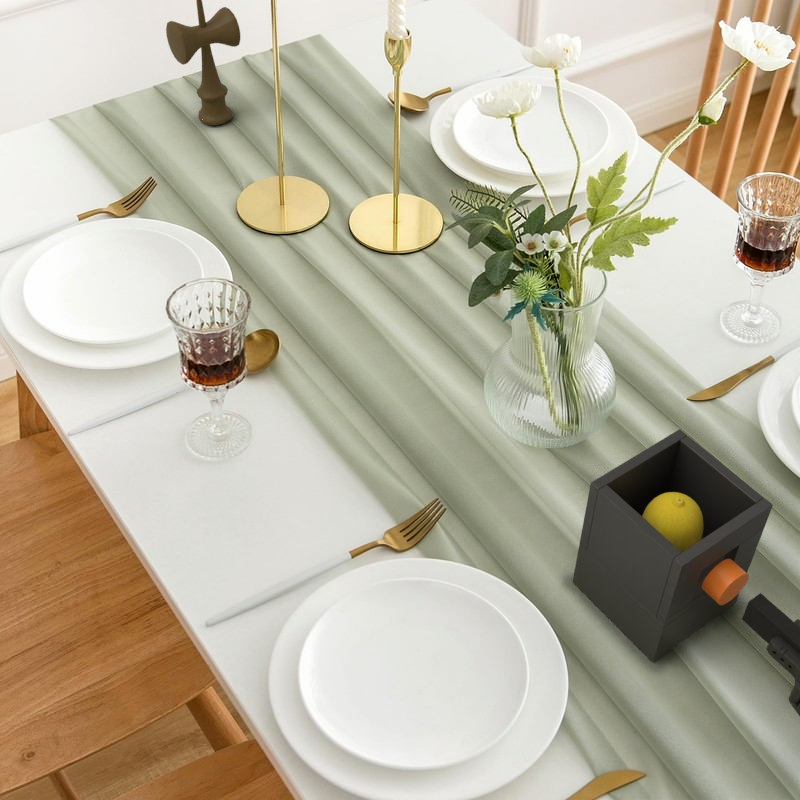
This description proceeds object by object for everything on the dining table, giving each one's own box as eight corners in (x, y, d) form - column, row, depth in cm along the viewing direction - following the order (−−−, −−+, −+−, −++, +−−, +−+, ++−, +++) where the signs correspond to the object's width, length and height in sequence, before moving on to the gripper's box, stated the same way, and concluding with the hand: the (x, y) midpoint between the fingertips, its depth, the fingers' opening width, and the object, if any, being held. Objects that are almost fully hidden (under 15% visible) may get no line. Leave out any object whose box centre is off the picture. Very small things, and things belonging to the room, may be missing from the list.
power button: (743, 591, 95) (752, 567, 93) (715, 611, 94) (723, 587, 91) (726, 576, 96) (735, 551, 94) (698, 596, 95) (706, 571, 92)
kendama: (178, 120, 165) (156, -8, 151) (234, 101, 169) (218, -25, 155) (196, 137, 162) (175, 9, 147) (253, 118, 165) (238, -10, 151)
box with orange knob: (735, 603, 104) (773, 504, 93) (652, 663, 99) (682, 566, 88) (653, 529, 110) (679, 428, 99) (571, 582, 105) (590, 482, 95)
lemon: (639, 580, 98) (653, 525, 93) (629, 531, 102) (642, 476, 96) (700, 579, 98) (717, 524, 93) (687, 530, 102) (704, 475, 97)
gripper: (927, 902, 79) (688, 669, 92) (1031, 800, 84) (790, 593, 98) (965, 861, 73) (706, 620, 87) (1073, 755, 79) (812, 543, 92)
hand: (751, 606), depth 92 cm, fingers closed
